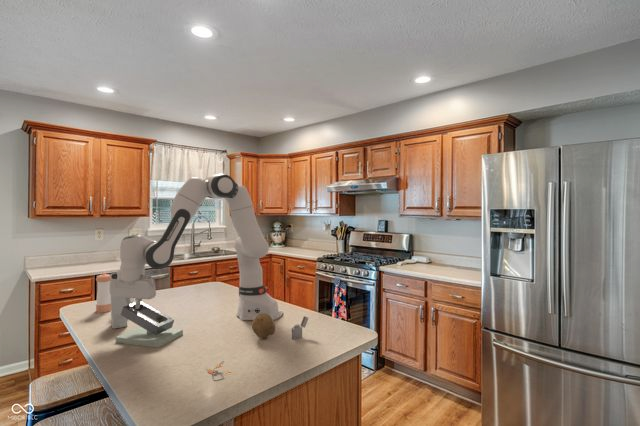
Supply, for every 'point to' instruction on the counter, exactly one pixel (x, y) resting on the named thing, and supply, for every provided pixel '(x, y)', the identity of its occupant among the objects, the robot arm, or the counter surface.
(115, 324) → the skincare box
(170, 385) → the counter surface
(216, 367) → the key chain
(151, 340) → the plate
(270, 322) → the natural sponge
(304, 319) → the lighter
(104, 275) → the pepper shaker
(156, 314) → the grey rectangular frame
